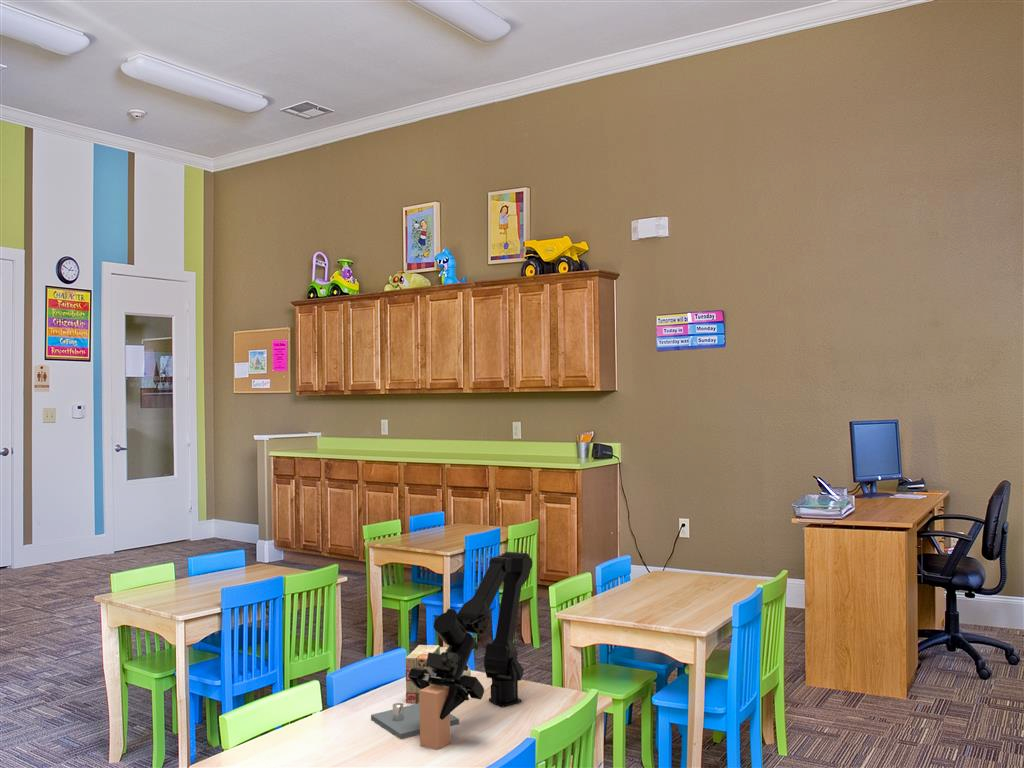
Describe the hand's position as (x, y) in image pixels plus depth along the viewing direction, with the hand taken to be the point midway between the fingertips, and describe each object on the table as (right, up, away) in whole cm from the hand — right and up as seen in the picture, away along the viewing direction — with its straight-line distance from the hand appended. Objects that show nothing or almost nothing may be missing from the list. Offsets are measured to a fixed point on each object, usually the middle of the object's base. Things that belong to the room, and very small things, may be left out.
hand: (431, 716), depth 191 cm
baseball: (+3, -9, +42) cm, 43 cm away
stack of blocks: (-5, -9, +39) cm, 40 cm away
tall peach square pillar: (+1, -7, +1) cm, 7 cm away
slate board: (-6, -7, +15) cm, 18 cm away
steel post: (-10, -7, +14) cm, 18 cm away
